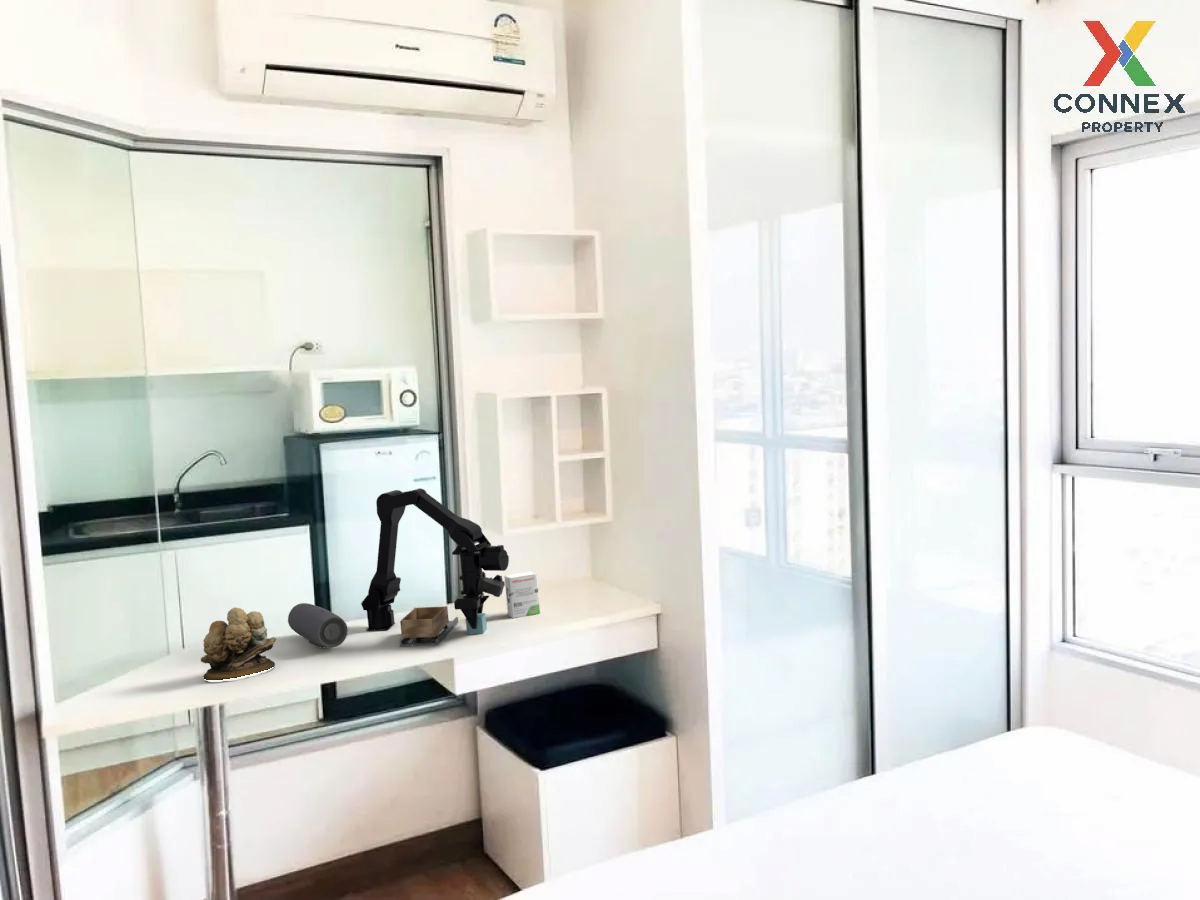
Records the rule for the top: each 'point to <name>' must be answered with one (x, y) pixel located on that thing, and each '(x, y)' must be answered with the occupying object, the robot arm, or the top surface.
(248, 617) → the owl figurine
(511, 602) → the ink box
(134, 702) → the top surface
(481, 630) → the part block
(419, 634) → the wooden drawer
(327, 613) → the bluetooth speaker
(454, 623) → the track
